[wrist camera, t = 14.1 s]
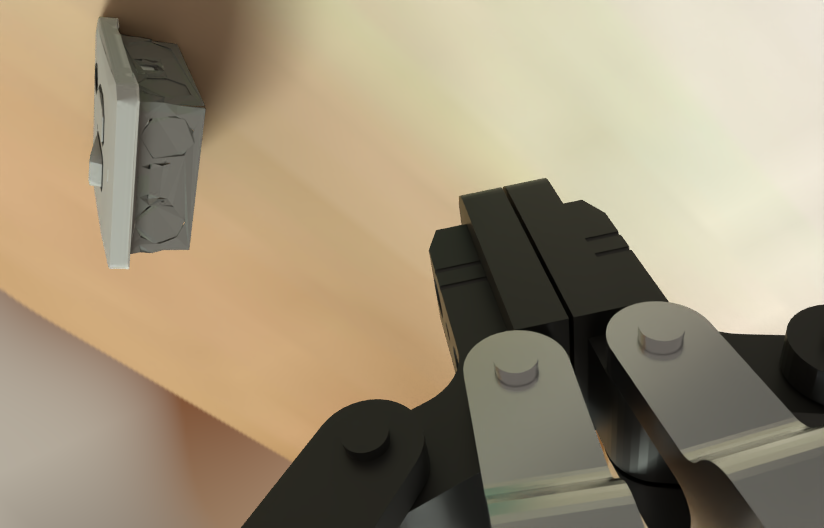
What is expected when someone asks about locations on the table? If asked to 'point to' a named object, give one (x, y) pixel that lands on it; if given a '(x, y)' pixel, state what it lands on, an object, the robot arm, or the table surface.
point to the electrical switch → (143, 144)
